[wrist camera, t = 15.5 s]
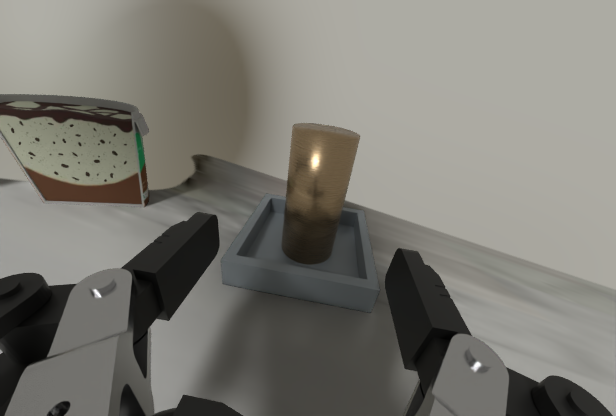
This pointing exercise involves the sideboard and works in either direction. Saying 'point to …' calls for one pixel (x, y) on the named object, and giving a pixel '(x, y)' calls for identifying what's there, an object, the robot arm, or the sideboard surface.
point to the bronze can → (316, 190)
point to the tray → (296, 276)
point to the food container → (77, 148)
